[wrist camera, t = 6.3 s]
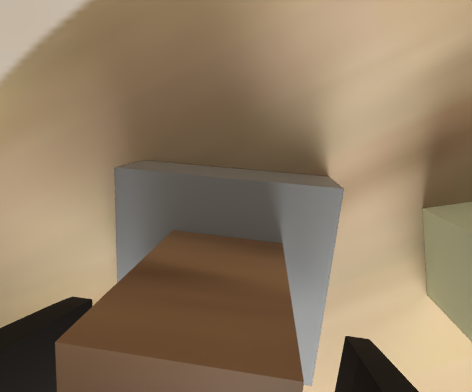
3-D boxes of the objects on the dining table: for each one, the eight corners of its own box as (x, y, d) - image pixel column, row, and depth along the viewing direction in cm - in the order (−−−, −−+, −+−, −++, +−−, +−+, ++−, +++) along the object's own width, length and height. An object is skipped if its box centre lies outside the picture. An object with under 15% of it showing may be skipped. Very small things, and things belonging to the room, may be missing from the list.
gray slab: (303, 334, 14) (311, 385, 11) (148, 312, 15) (119, 355, 12) (326, 174, 12) (344, 188, 10) (148, 159, 13) (114, 167, 10)
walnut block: (270, 342, 11) (273, 573, 5) (168, 327, 11) (62, 527, 5) (282, 243, 10) (303, 382, 4) (172, 230, 11) (54, 342, 5)
